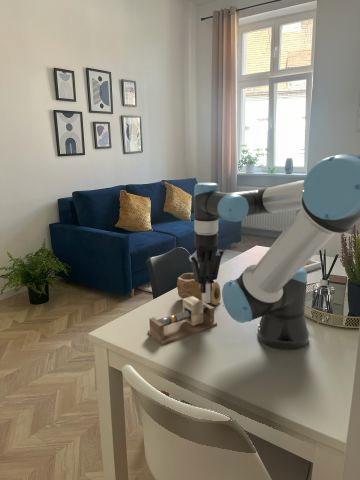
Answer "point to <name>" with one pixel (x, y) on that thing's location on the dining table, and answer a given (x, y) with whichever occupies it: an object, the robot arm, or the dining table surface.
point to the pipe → (196, 288)
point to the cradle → (180, 327)
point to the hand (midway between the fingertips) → (206, 300)
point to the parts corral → (312, 265)
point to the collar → (193, 310)
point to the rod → (178, 317)
